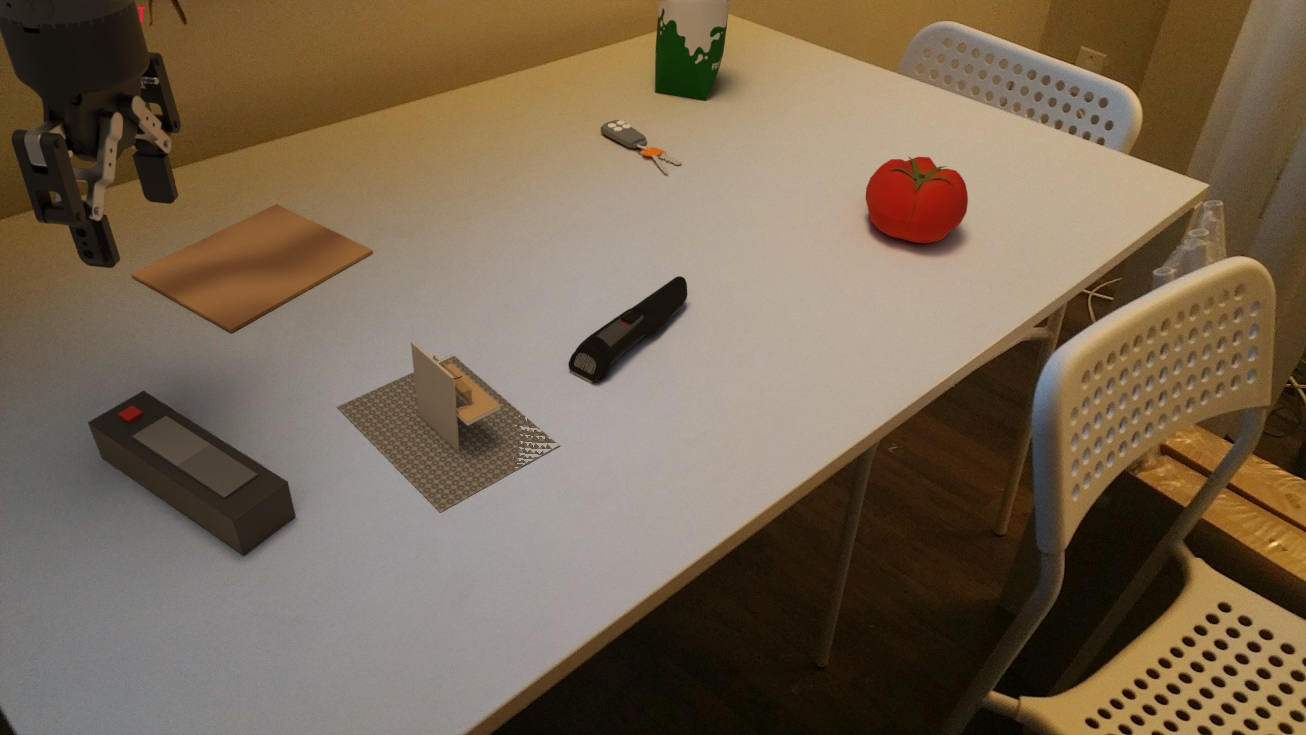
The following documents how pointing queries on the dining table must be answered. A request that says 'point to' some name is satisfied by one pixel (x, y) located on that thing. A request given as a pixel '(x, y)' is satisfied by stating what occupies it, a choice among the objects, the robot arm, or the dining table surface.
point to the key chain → (635, 141)
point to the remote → (194, 471)
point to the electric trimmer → (627, 331)
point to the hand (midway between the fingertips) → (134, 231)
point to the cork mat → (252, 266)
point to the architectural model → (444, 429)
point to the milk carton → (689, 46)
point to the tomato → (916, 199)
